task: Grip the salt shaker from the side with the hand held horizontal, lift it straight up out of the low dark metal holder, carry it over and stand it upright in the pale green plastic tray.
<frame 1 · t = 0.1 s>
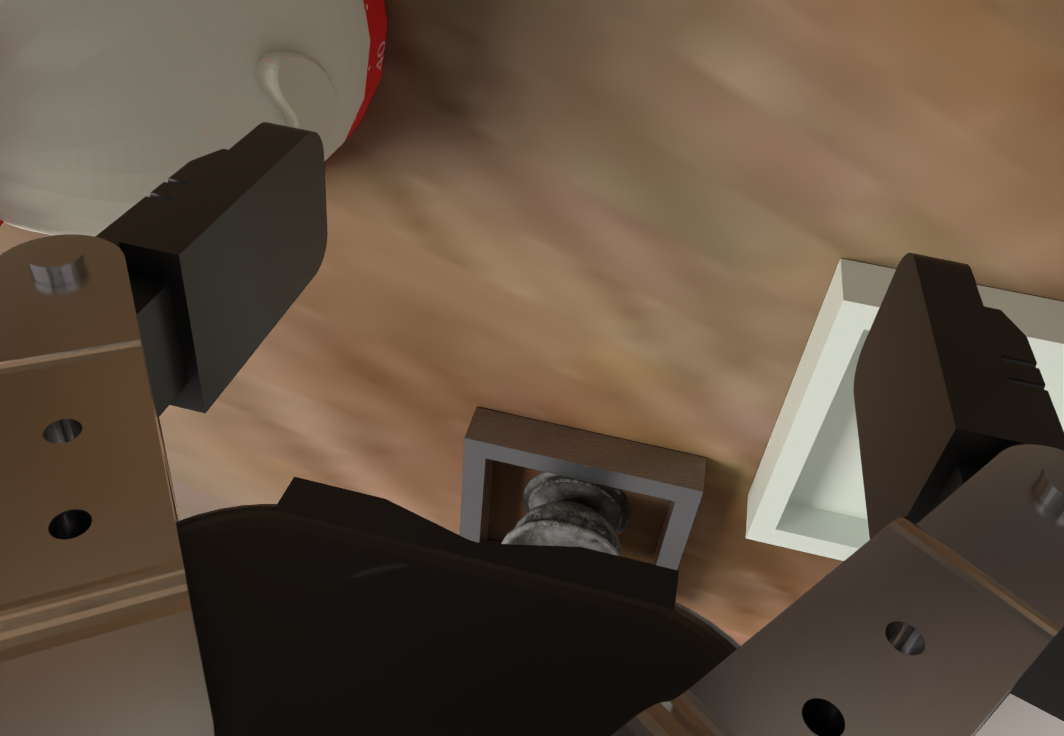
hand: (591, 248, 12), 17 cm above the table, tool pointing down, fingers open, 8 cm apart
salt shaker: (577, 502, 43), resting in holder
holder: (576, 506, 43), on the table
tray: (954, 426, 35), on the table
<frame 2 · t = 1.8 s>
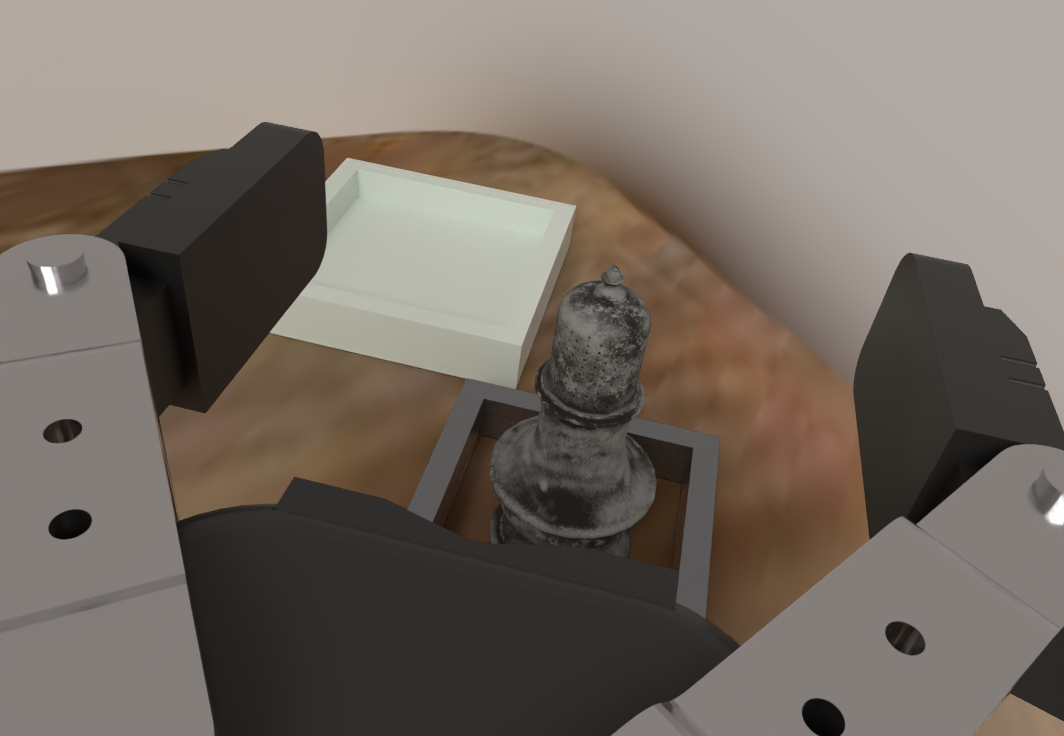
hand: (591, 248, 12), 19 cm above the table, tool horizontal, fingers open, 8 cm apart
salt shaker: (559, 539, 33), resting in holder
holder: (559, 535, 33), on the table
tray: (421, 281, 45), on the table
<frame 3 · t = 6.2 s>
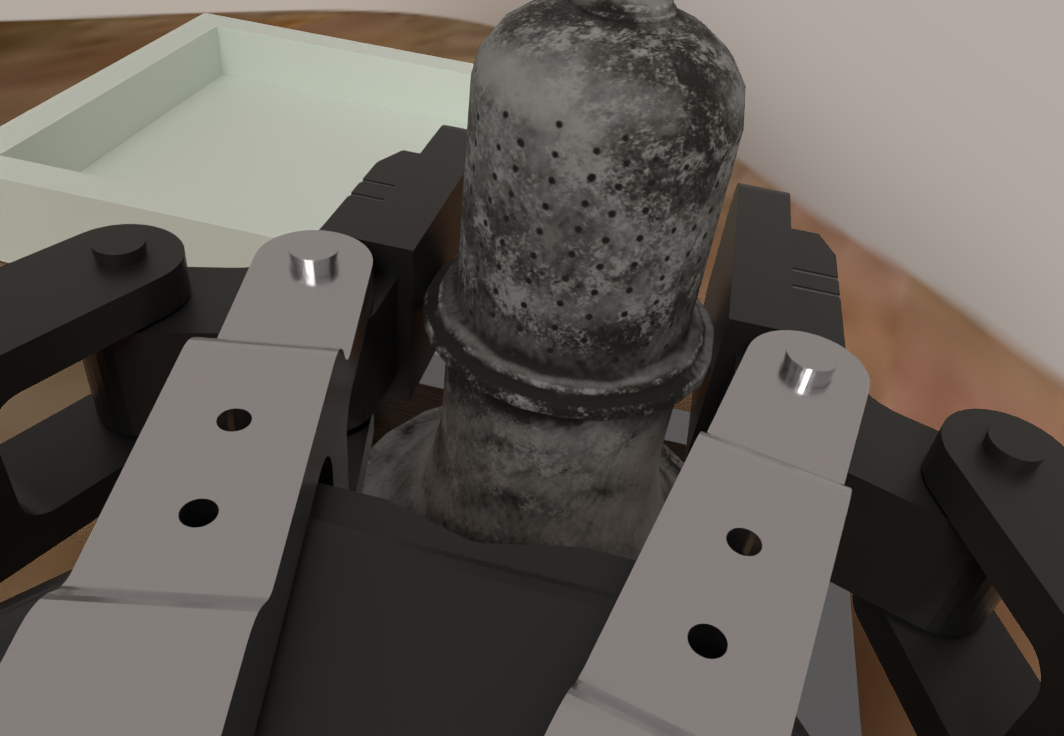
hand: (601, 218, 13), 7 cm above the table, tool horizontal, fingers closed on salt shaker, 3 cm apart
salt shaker: (510, 666, 15), resting in holder, touching gripper
holder: (512, 660, 15), on the table
tray: (304, 192, 27), on the table
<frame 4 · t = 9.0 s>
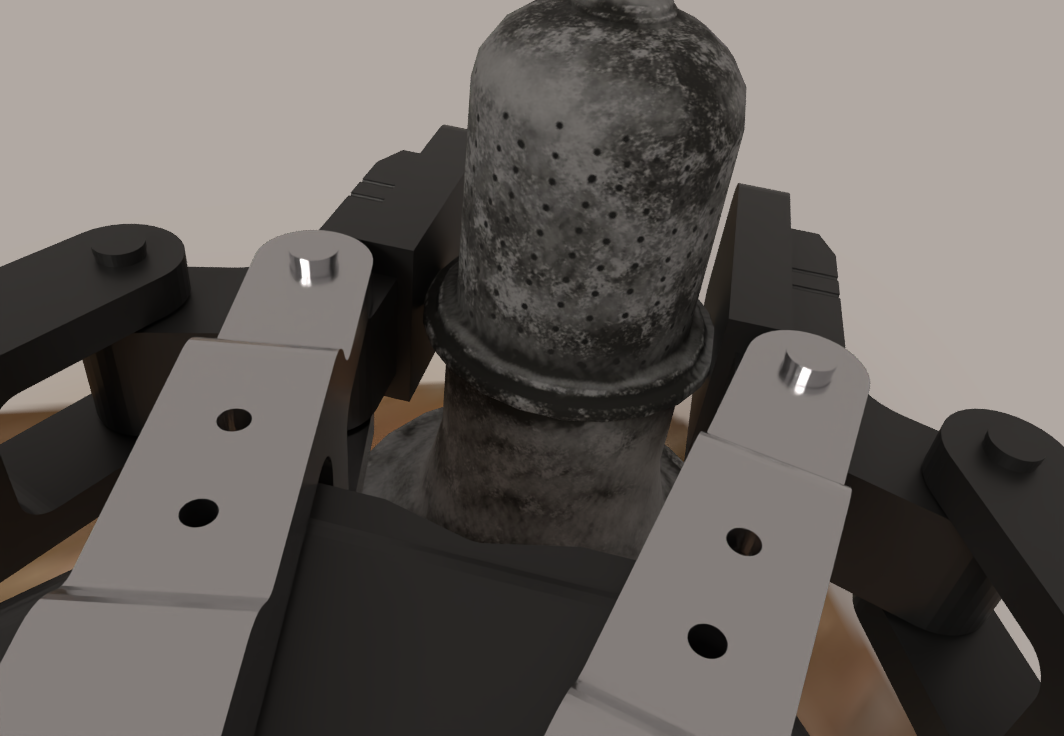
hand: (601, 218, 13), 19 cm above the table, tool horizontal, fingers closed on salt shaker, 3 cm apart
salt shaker: (512, 668, 15), point 12 cm above the table, touching gripper
when the fingers open (9 cm above the table, at t = 11.8 s): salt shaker stays where it is, resting on tray.
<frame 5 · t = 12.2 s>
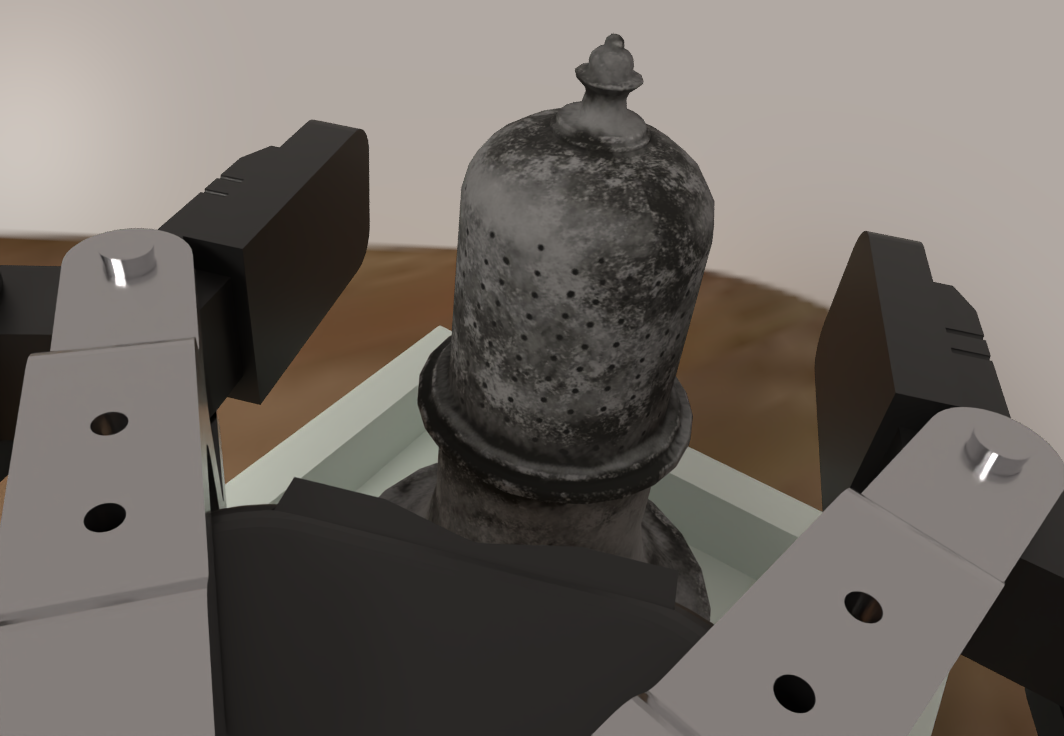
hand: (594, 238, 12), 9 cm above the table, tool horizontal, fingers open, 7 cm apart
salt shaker: (503, 709, 16), point 1 cm above the table, touching tray
tray: (500, 722, 17), on the table
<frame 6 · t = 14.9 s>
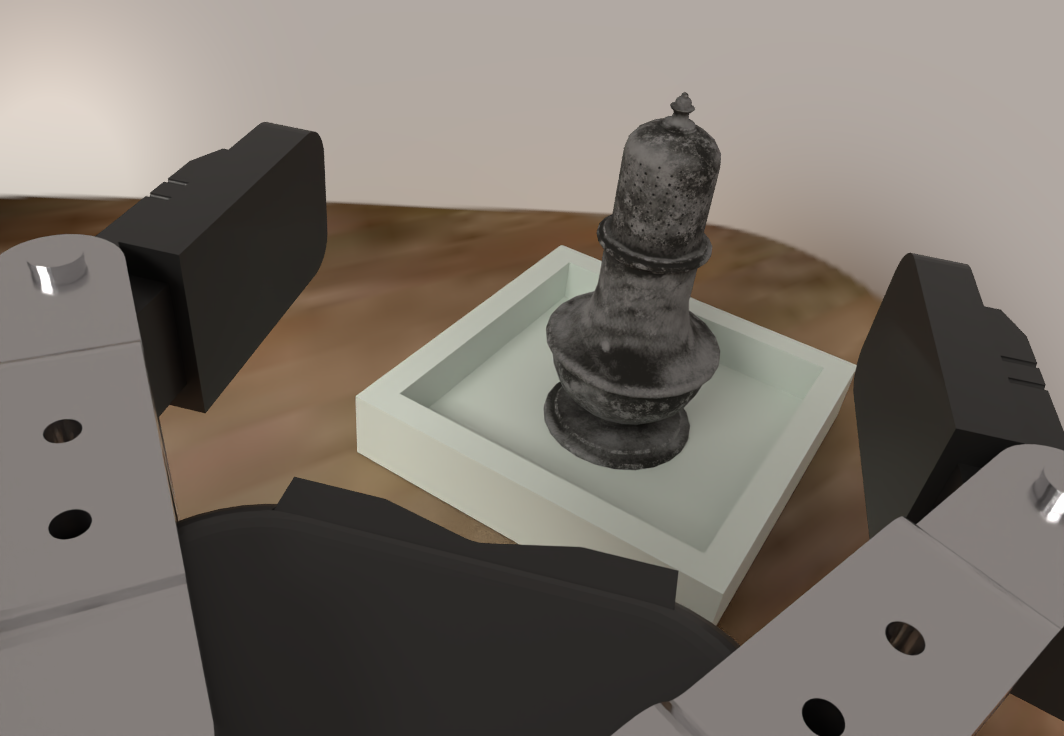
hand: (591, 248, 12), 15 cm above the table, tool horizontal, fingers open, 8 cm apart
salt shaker: (615, 422, 32), point 1 cm above the table, touching tray
tray: (612, 432, 32), on the table
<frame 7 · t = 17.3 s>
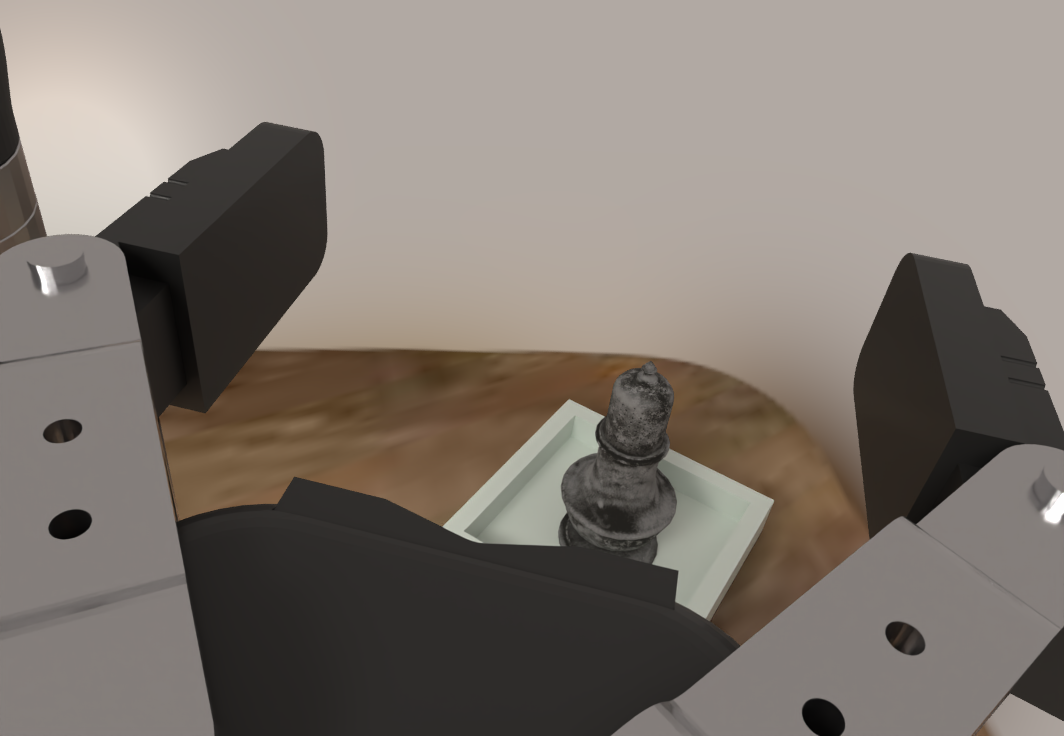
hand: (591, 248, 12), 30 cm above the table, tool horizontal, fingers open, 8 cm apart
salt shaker: (607, 541, 46), point 1 cm above the table, touching tray
tray: (605, 547, 47), on the table
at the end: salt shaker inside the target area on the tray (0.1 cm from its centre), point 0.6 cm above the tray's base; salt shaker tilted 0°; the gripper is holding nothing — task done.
